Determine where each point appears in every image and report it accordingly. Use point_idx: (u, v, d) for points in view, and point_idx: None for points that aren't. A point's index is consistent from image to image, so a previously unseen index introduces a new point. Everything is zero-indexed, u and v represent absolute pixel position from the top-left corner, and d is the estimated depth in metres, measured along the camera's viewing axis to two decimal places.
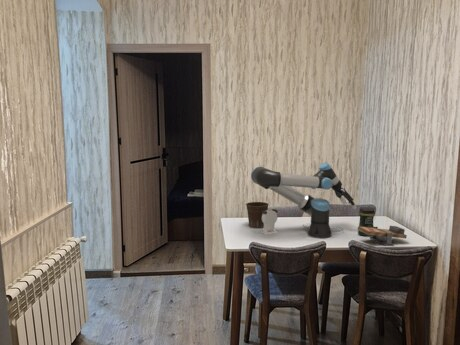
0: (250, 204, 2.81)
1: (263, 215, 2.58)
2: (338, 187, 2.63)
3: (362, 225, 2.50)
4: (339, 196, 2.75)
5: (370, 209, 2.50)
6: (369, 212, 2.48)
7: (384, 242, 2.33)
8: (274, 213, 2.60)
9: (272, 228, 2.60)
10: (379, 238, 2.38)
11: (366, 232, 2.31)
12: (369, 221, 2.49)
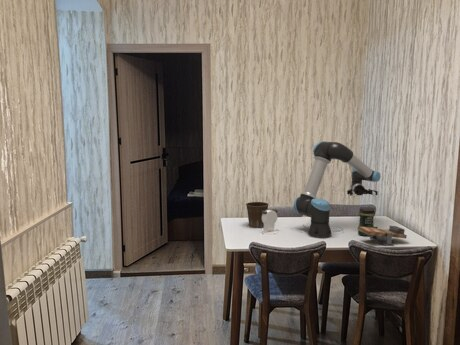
0: (250, 204, 2.81)
1: (263, 215, 2.58)
2: (364, 189, 2.78)
3: (362, 225, 2.50)
4: (353, 191, 2.69)
5: (370, 209, 2.50)
6: (369, 212, 2.48)
7: (384, 242, 2.33)
8: (274, 213, 2.60)
9: (272, 228, 2.60)
10: (379, 238, 2.38)
11: (366, 232, 2.31)
12: (369, 221, 2.49)
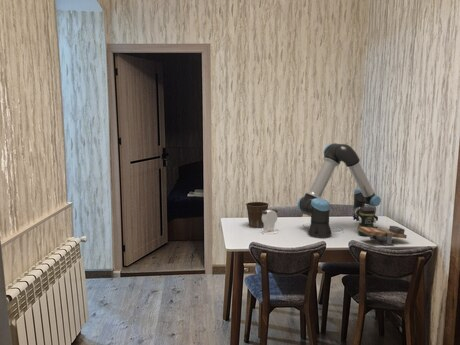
0: (250, 204, 2.81)
1: (263, 215, 2.58)
2: None
3: (362, 225, 2.50)
4: (358, 216, 2.57)
5: (370, 209, 2.50)
6: (369, 212, 2.48)
7: (384, 242, 2.33)
8: (274, 213, 2.60)
9: (272, 228, 2.60)
10: (379, 238, 2.38)
11: (366, 232, 2.31)
12: (369, 221, 2.49)
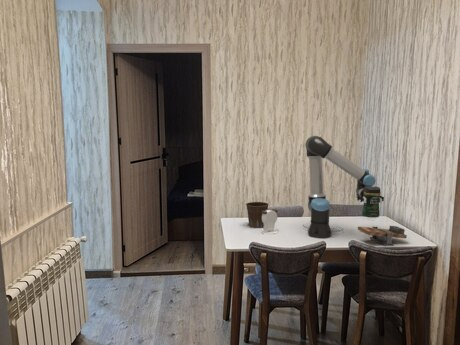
0: (250, 204, 2.81)
1: (263, 215, 2.58)
2: None
3: (367, 206, 2.32)
4: (363, 197, 2.38)
5: (376, 188, 2.31)
6: (375, 192, 2.30)
7: (384, 242, 2.33)
8: (274, 213, 2.60)
9: (272, 228, 2.60)
10: (379, 238, 2.38)
11: (366, 232, 2.31)
12: (375, 201, 2.30)
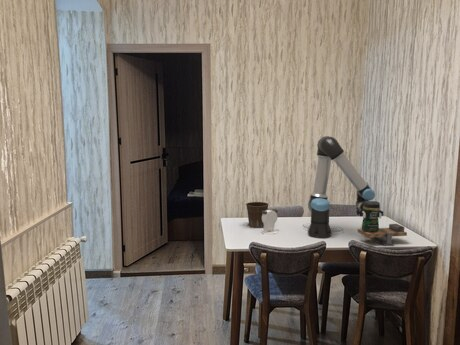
0: (250, 204, 2.81)
1: (263, 215, 2.58)
2: None
3: (366, 220, 2.32)
4: None
5: (375, 203, 2.32)
6: (374, 206, 2.30)
7: (384, 242, 2.33)
8: (274, 213, 2.60)
9: (272, 228, 2.61)
10: (379, 238, 2.38)
11: (366, 235, 2.31)
12: (374, 216, 2.31)
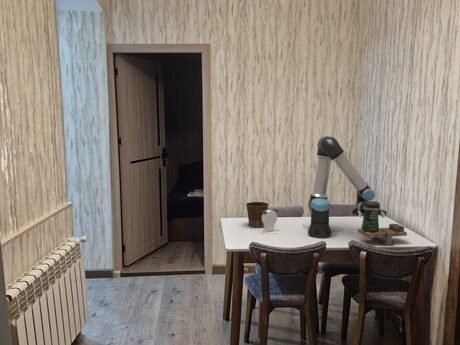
0: (250, 204, 2.81)
1: (263, 215, 2.58)
2: None
3: (366, 220, 2.32)
4: (358, 211, 2.40)
5: (375, 203, 2.32)
6: (374, 206, 2.30)
7: (384, 242, 2.33)
8: (274, 213, 2.60)
9: (272, 228, 2.61)
10: (379, 238, 2.38)
11: (366, 235, 2.31)
12: (374, 216, 2.31)
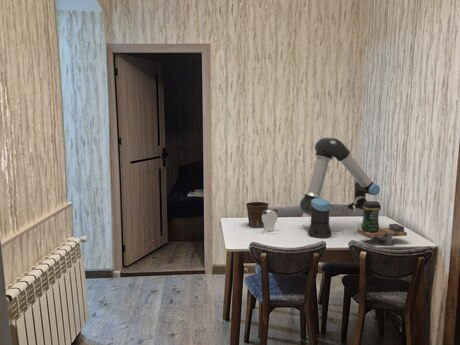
0: (250, 204, 2.81)
1: (263, 215, 2.58)
2: None
3: (366, 220, 2.32)
4: (354, 205, 2.53)
5: (375, 203, 2.32)
6: (374, 206, 2.30)
7: (384, 242, 2.33)
8: (274, 213, 2.60)
9: (272, 228, 2.61)
10: (379, 238, 2.38)
11: (366, 235, 2.31)
12: (374, 216, 2.31)
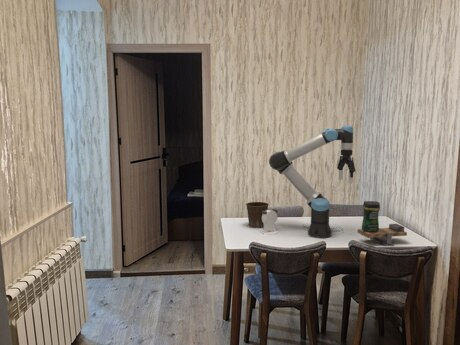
0: (250, 204, 2.81)
1: (263, 215, 2.58)
2: (348, 154, 2.53)
3: (366, 220, 2.32)
4: (340, 168, 2.64)
5: (375, 203, 2.32)
6: (374, 206, 2.30)
7: (384, 242, 2.33)
8: (274, 213, 2.60)
9: (272, 228, 2.61)
10: (379, 238, 2.38)
11: (366, 235, 2.31)
12: (374, 216, 2.31)
